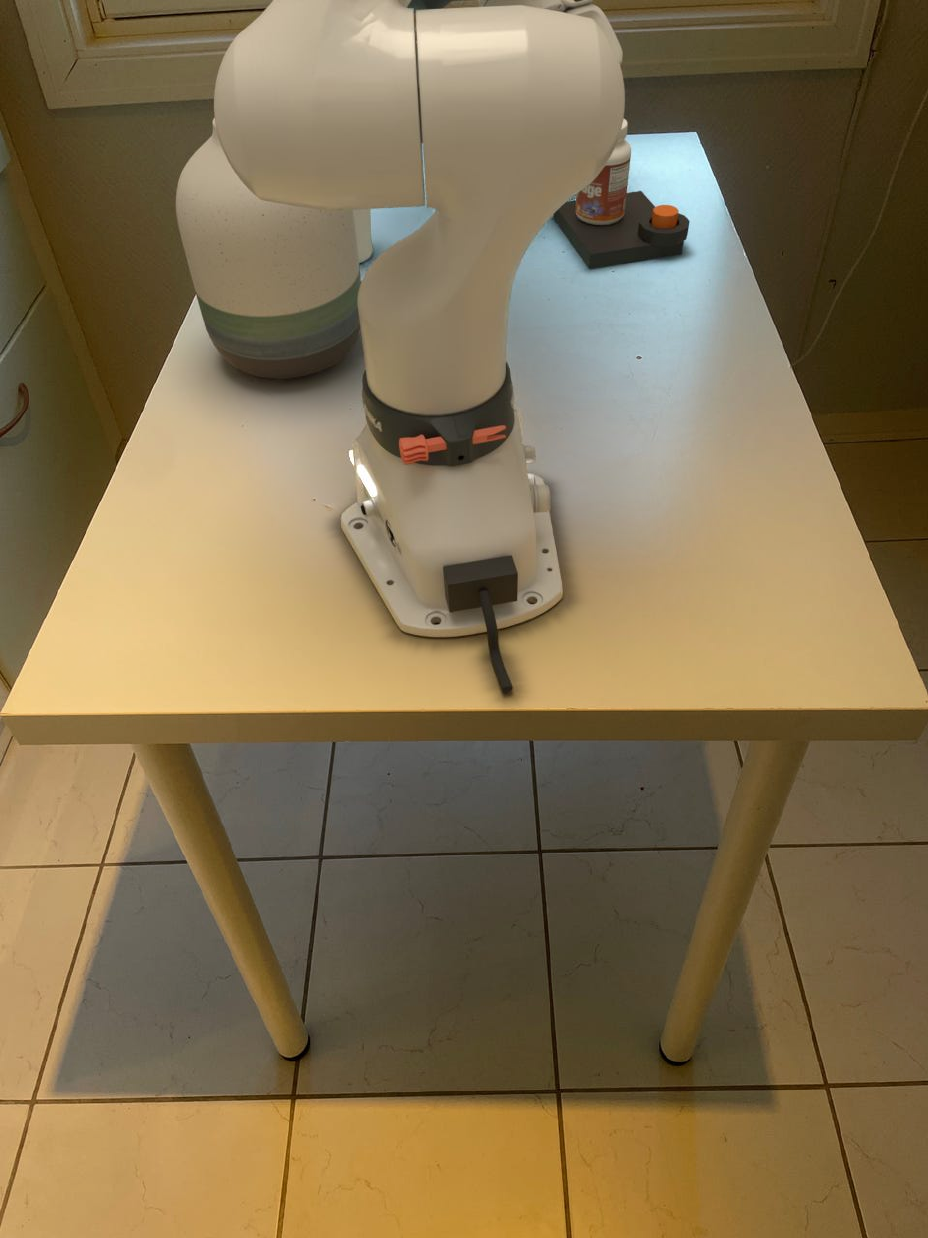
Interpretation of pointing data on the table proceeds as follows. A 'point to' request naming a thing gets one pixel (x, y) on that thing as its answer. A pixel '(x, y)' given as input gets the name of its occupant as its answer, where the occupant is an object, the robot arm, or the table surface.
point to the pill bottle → (607, 187)
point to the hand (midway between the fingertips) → (580, 127)
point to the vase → (267, 271)
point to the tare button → (664, 216)
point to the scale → (622, 234)
